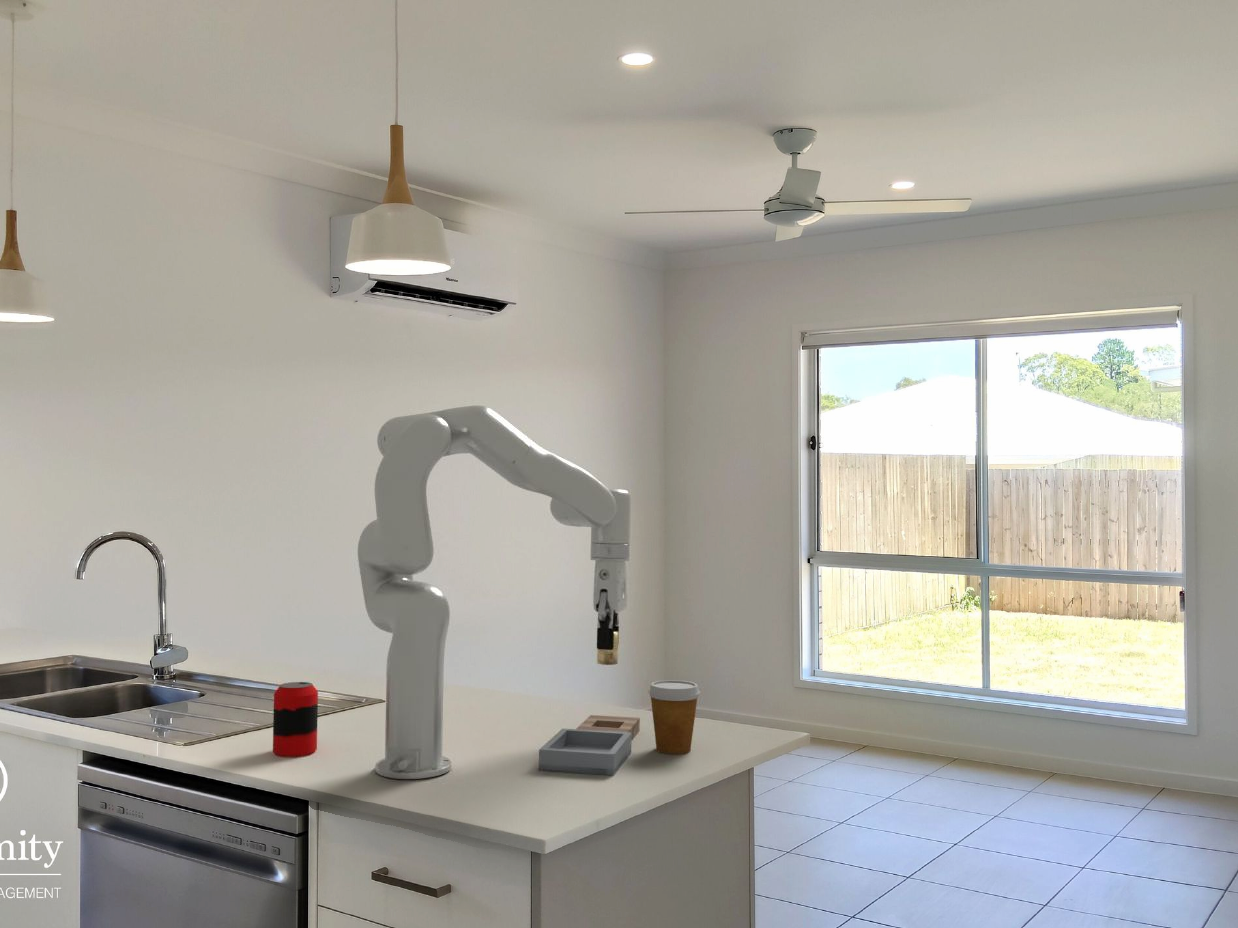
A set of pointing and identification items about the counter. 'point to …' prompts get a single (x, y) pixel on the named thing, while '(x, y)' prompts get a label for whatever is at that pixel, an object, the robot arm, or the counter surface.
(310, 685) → the soda can
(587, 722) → the block
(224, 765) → the counter surface
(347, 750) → the counter surface
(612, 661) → the pin
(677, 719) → the disposable coffee cup
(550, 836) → the counter surface
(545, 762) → the slate tray
